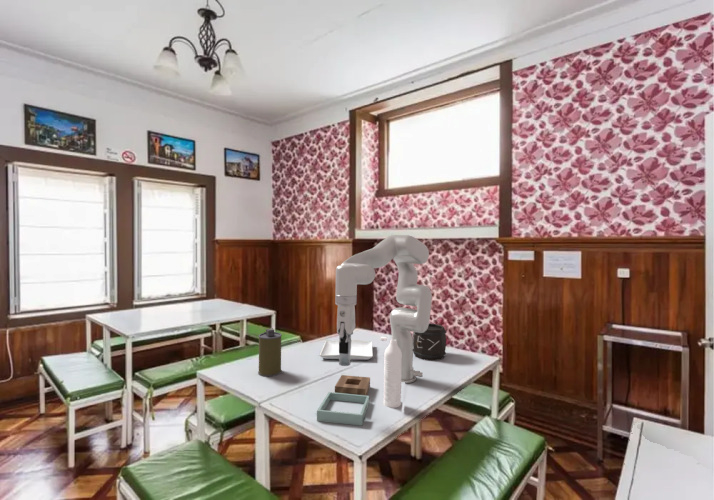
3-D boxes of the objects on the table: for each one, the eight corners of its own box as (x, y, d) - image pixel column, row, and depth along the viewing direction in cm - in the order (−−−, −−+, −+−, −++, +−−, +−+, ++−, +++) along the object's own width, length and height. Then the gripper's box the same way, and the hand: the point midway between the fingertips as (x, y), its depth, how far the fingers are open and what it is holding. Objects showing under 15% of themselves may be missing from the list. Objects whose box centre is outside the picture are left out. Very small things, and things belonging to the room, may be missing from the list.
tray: (369, 405, 138) (369, 395, 138) (362, 425, 123) (362, 415, 123) (328, 401, 141) (328, 392, 141) (316, 420, 126) (316, 410, 125)
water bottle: (404, 405, 138) (405, 339, 137) (394, 411, 133) (396, 343, 132) (384, 399, 143) (385, 335, 143) (374, 405, 138) (376, 338, 137)
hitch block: (369, 389, 152) (370, 377, 152) (365, 402, 141) (365, 389, 140) (341, 386, 154) (341, 375, 154) (334, 399, 143) (334, 386, 143)
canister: (284, 373, 168) (285, 330, 167) (262, 378, 163) (262, 333, 162) (276, 366, 177) (277, 325, 177) (255, 370, 172) (255, 327, 171)
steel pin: (353, 362, 133) (354, 328, 133) (350, 367, 128) (351, 332, 128) (338, 360, 134) (339, 327, 134) (335, 366, 129) (335, 331, 129)
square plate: (325, 345, 214) (325, 339, 214) (372, 347, 213) (372, 340, 213) (318, 361, 187) (318, 353, 187) (372, 363, 186) (372, 355, 186)
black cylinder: (404, 353, 201) (405, 325, 200) (428, 348, 211) (429, 321, 210) (428, 363, 186) (428, 332, 185) (452, 357, 196) (453, 328, 195)
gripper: (351, 304, 122) (350, 359, 122) (360, 296, 138) (359, 345, 139) (329, 303, 123) (328, 357, 123) (340, 296, 139) (340, 344, 140)
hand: (345, 350), depth 131 cm, fingers closed on steel pin, 4 cm apart
